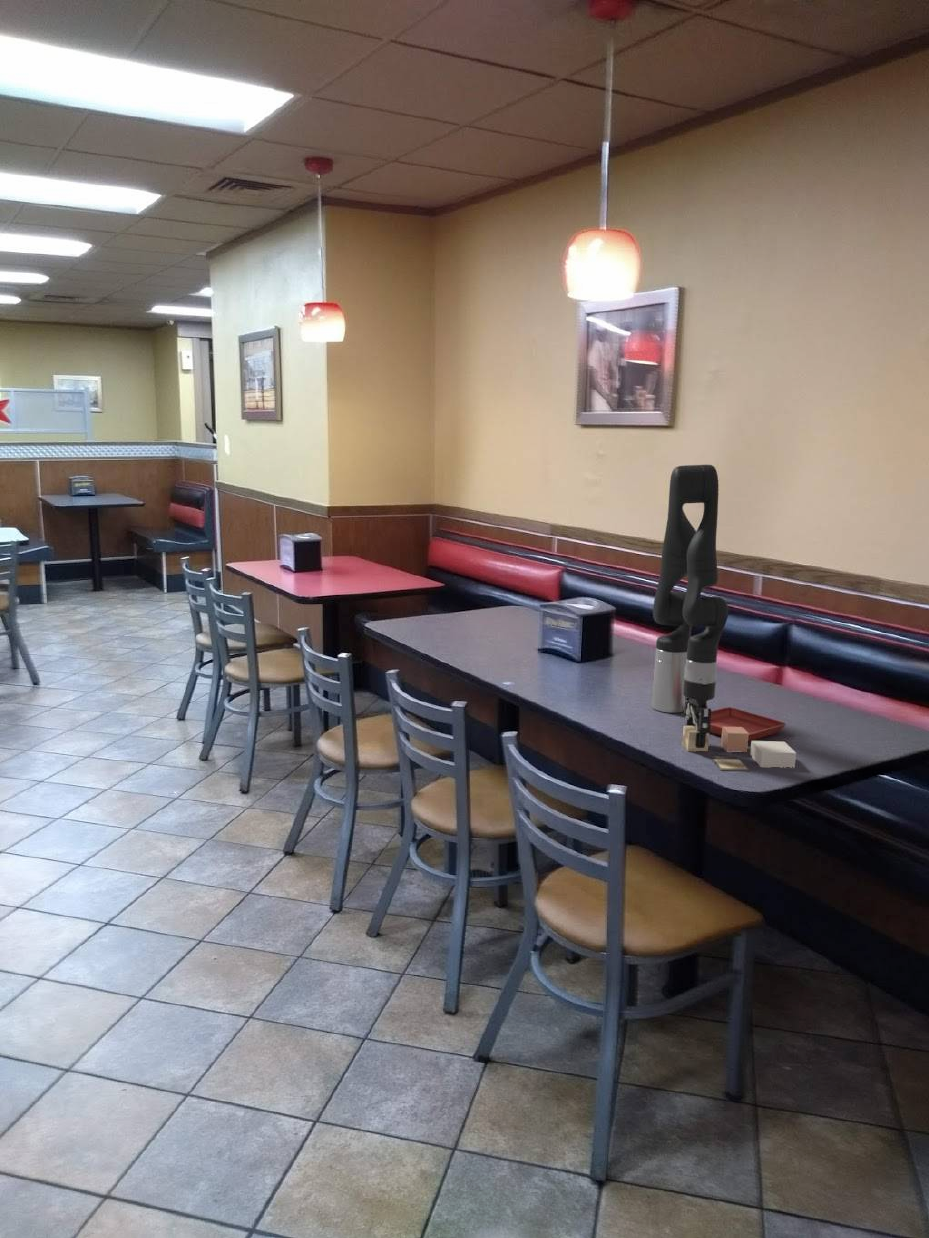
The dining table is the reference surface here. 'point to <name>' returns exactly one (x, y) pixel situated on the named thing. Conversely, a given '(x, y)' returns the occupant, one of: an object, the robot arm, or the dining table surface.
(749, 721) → the plant saucer
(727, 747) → the terracotta cube
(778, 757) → the base slab
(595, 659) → the dining table surface
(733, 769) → the tile
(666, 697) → the robot arm
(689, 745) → the maple cube
